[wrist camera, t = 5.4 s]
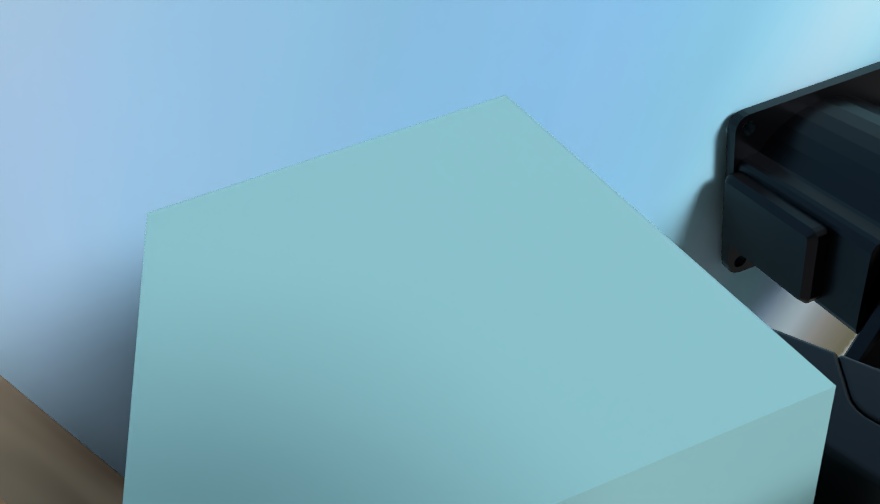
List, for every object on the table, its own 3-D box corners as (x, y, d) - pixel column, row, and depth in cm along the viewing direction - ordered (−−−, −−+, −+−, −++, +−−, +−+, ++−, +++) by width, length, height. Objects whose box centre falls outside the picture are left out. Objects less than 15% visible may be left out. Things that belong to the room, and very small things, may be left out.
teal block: (505, 94, 10) (836, 386, 5) (545, 350, 12) (776, 693, 8) (147, 213, 9) (105, 694, 4) (277, 454, 12) (344, 901, 7)
